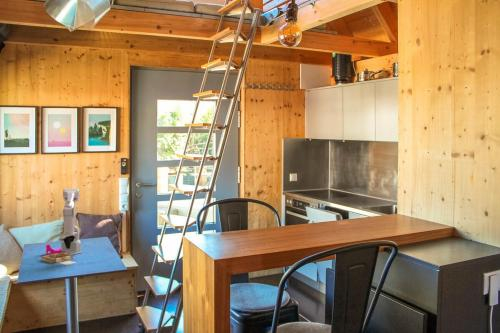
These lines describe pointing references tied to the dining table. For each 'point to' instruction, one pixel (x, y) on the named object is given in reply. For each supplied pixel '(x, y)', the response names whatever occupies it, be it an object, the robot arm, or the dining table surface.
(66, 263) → the mat
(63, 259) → the wooden tray
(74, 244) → the sheet
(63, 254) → the offcut upper
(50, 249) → the toy block
